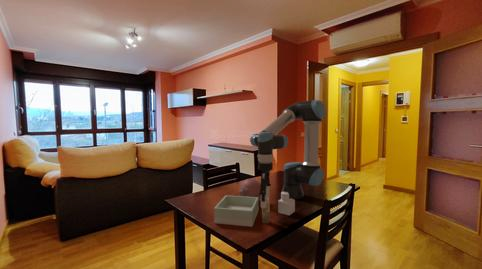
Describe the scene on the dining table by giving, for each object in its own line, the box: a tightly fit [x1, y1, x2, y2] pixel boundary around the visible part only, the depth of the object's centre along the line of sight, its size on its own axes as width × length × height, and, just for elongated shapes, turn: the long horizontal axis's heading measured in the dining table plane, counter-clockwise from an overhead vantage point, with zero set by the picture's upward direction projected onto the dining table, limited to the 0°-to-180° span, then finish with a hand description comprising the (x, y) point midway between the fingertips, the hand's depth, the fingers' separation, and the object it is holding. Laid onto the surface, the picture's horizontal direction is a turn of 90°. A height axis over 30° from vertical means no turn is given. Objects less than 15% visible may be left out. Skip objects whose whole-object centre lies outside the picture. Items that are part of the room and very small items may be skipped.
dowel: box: [261, 197, 271, 224], centre depth 118 cm, size 4×4×12 cm
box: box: [213, 194, 260, 228], centre depth 124 cm, size 20×20×8 cm
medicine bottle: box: [277, 190, 296, 216], centre depth 129 cm, size 7×7×12 cm
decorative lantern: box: [237, 178, 261, 202], centre depth 143 cm, size 15×20×15 cm
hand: (265, 202), depth 117 cm, fingers open, 13 cm apart
